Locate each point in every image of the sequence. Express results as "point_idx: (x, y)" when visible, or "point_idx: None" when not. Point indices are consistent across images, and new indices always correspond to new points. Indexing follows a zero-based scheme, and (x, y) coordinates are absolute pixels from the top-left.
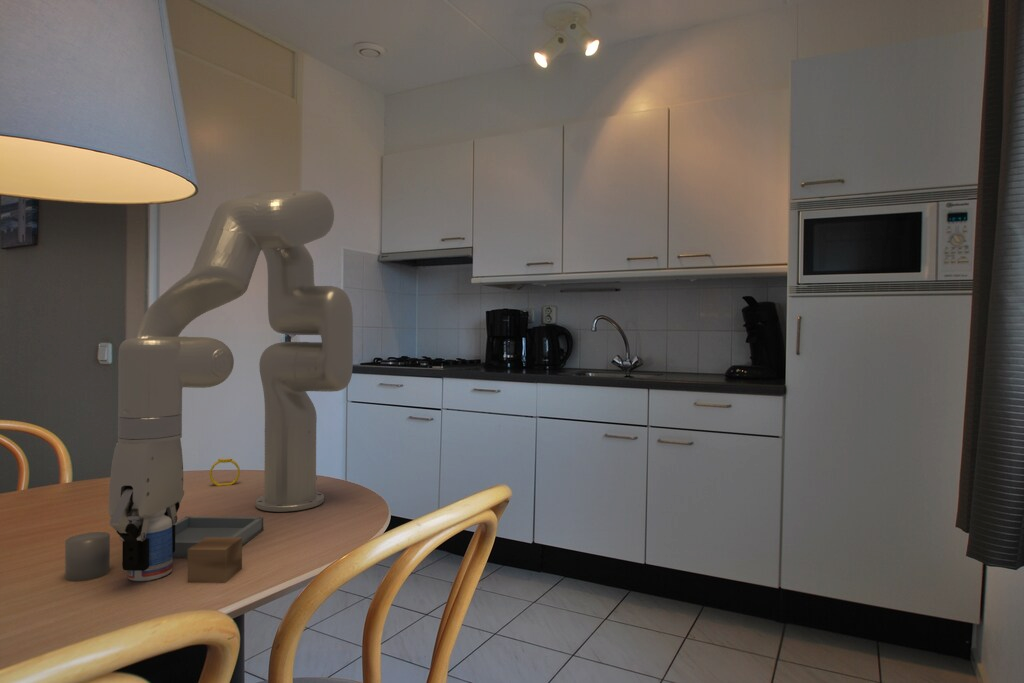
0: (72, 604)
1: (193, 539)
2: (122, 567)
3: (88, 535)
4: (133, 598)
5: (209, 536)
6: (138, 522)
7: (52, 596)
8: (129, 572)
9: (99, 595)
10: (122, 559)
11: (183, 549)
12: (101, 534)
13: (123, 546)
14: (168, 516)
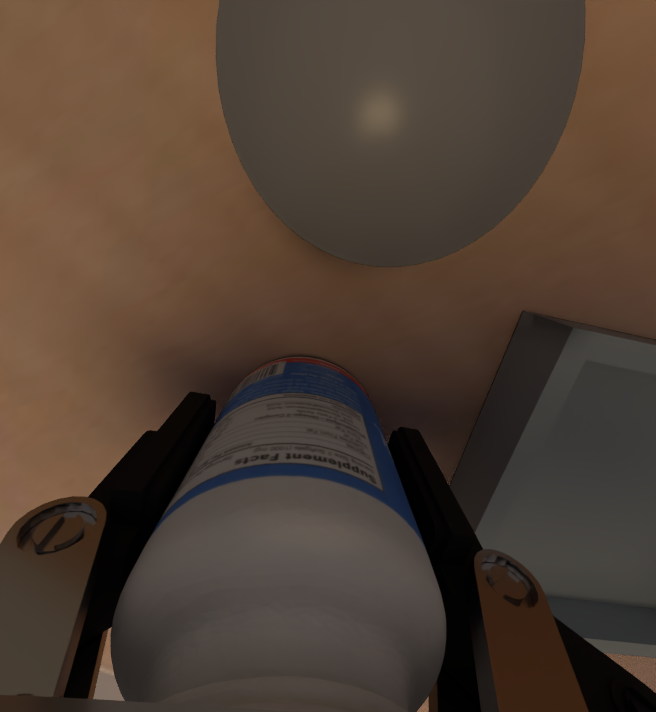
0: (16, 261)
1: (630, 465)
2: (190, 392)
3: (481, 43)
4: (88, 444)
5: (640, 505)
6: (142, 677)
7: (89, 121)
8: (234, 391)
9: (108, 325)
10: (175, 411)
11: (469, 491)
12: (477, 173)
13: (139, 459)
14: (438, 699)
